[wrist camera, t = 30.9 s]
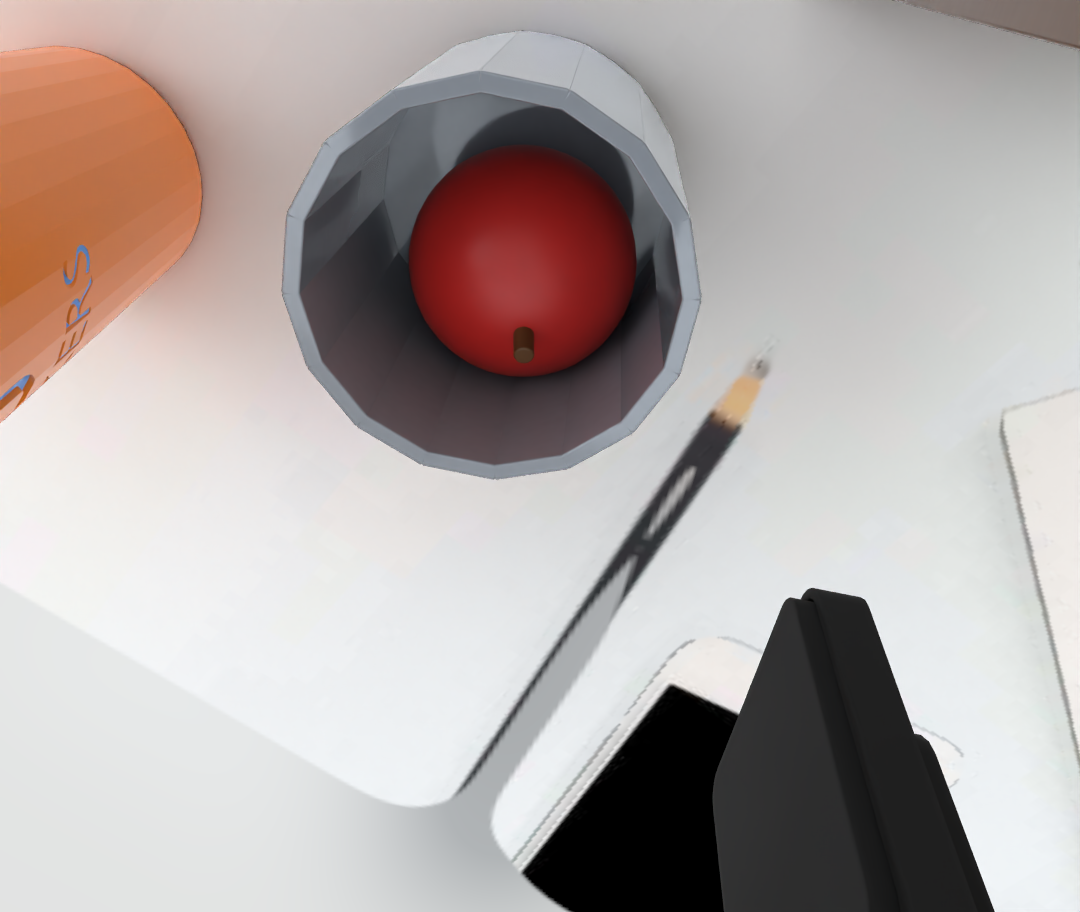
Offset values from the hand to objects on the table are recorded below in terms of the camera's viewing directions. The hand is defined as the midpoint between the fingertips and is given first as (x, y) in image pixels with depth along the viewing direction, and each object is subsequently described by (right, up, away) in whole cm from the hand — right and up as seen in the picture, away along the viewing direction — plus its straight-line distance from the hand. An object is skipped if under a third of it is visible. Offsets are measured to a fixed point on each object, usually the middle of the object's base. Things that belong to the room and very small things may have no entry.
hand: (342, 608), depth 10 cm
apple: (+2, +9, +17) cm, 20 cm away
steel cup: (+2, +9, +18) cm, 20 cm away
